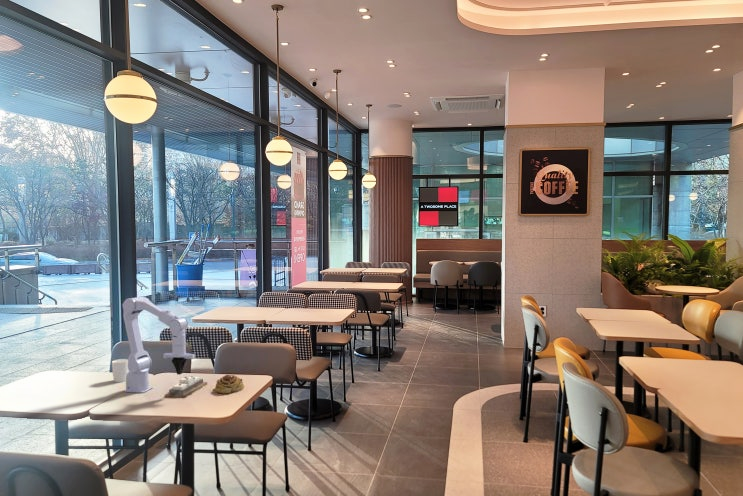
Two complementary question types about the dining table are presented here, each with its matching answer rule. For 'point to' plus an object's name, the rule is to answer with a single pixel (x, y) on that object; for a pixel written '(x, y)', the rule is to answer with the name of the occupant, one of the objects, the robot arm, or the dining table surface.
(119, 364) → the white cup
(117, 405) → the dining table surface
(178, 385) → the tile one
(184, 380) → the tile two
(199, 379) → the tile three
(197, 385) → the board
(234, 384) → the pastry
